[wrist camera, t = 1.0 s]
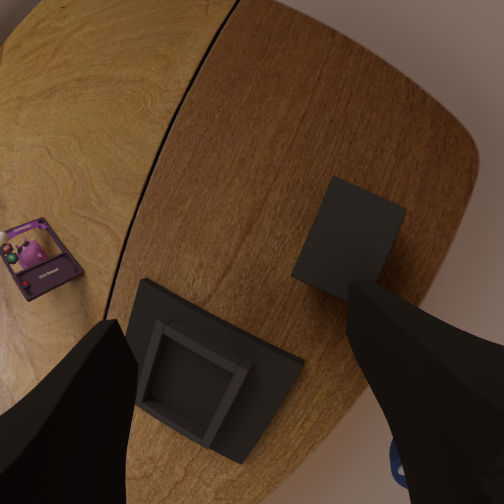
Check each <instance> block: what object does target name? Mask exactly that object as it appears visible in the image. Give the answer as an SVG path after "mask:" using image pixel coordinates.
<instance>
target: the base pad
mask: <svg viewBox="0 0 504 504" xmlns="http://www.w3.org/2000/svg"><path fill="white" fill-rule="evenodd" d="M125 338H126V340H127V342H128V344H129V346H130V348H131V350H132V352H133V354H134V356H135V358H136V360H137V362H138V364H139V368H138V386H137V395H136V400H135V405H137V406H138V407H140V408H141V409H143V410H144V411H145V412H147V413H148V414H150V415H151V416H153V417H155V418H156V419H158V420H159V421H161V422H162V423H164V424H165V425H167V426H169V427H170V428H172V429H174V430H175V431H177V432H178V433H180V434H182V435H184V436H185V437H187V438H189V439H190V440H192V441H194V442H196V443H198V444H200V445H201V446H203V447H205V448H206V449H211V450H213V451H215V452H217V453H219V454H221V455H223V456H225V457H227V458H229V459H231V460H233V461H235V462H237V463H239V464H242V463H243V462H244V460H245V459H246V458H247V456H248V455H249V453H250V452H251V450H252V449H253V447H254V446H255V444H256V443H257V441H258V440H259V438H260V437H261V435H262V433H263V432H264V430H265V429H266V427H267V426H268V424H269V423H270V421H271V419H272V418H273V416H274V415H275V413H276V411H277V410H278V408H279V406H280V405H281V403H282V401H283V400H284V398H285V396H286V395H287V393H288V391H289V390H290V388H291V386H292V385H293V383H294V381H295V379H296V378H297V376H298V374H299V372H300V371H301V369H302V367H303V365H304V361H305V360H303V359H301V358H299V357H297V356H294V355H292V354H290V353H288V352H286V351H284V350H282V349H280V348H278V347H275V346H273V345H271V344H269V343H267V342H265V341H263V340H261V339H259V338H257V337H255V336H253V335H251V334H249V333H247V332H245V331H243V330H241V329H239V328H237V327H235V326H233V325H231V324H229V323H228V322H226V321H224V320H222V319H220V318H218V317H216V316H214V315H212V314H210V313H209V312H207V311H205V310H203V309H201V308H199V307H198V306H196V305H194V304H192V303H190V302H188V301H187V300H185V299H183V298H181V297H179V296H178V295H176V294H174V293H172V292H171V291H169V290H167V289H165V288H164V287H162V286H160V285H158V284H157V283H155V282H153V281H151V280H150V279H148V278H145V279H141V280H140V283H139V287H138V290H137V294H136V297H135V301H134V305H133V308H132V312H131V316H130V320H129V324H128V328H127V332H126V336H125Z"/></svg>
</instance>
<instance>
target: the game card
mask: <svg viewBox="0 0 504 504" xmlns="http://www.w3.org/2000/svg"><path fill="white" fill-rule="evenodd" d="M40 223H42V225H40ZM36 227H39V228H40V229H41V230H43V229H46V230H47V231H48V233H49V234H50V236H51V237H52V238H53V240H54V241H55V242H56V244H57V245H58V247H59V248H60V249H61V251H62V253H60V254H58V255H55V256H53V257H51V258H49V259H48V256H47V254H46V252H45V251H44V249H43V248H42V247H41V246H40V245H39V244H38V243H37V242H36V240H35V241H34V240H33V237H32V240H31V241H29V242H28V241H27V240H26V237H24V242H25V243H24V244H23V245H22V246H21V247H19V246H18V245H16V248H17V249H18V250H17V252H18V254H16V253H11V252H12V251H13V247H12V245H11V244H5V243H7V242H8V240H10V239H11V238H13V237H15V236H17V235H18V234H21V233H23V232H25V231H28V230H30V229H33V228H36ZM0 244H3V245H2V246H1V248H0V255H1V257H2V259H3V261H4V263H5V265H6V266H7V268H8V270H9V272H10V274H11V275H12V277H13V279H14V281H15V282H16V284H17V286H18V287H19V289H20V291H21V292H22V294H23V296H24V297H25V299H26V300H27V301H28V302H30V301H32V300H34V299H36V298H38V297H39V296H41V295H43V294H45V293H47V292H49V291H51V290H53V289H55V288H57V287H59V286H61V285H63V284H65V283H67V282H69V281H71V280H73V279H75V278H77V277H79V276H81V275H83V269H82V268H81V267H80V265H79V264H78V263H77V262H76V260H75V259H74V258H73V257H72V255H71V254H70V253H69V252H68V250H67V249H66V248H65V246H64V245H63V244H62V242H61V241H60V240H59V238H58V237H57V236H56V234H55V233H54V232H53V230H52V229H51V228H50V226H49V225H48V223H47V222H46V221H45V219H44V218H39V219H36V220H33V221H30V222H27V223H25V224H22V225H19V226H17V227H14V228H11V229H9V230H6V231H4V232H0ZM4 254H8V255H7V256H6V257H5V255H4ZM17 261H18V262H19V264H20V265H21V267H22V268H23V269H24V270H22V271H20V272H18V273H14V271H13V270H12V268H11V266H10V264H15V263H16V262H17Z"/></svg>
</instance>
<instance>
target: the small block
mask: <svg viewBox="0 0 504 504" xmlns="http://www.w3.org/2000/svg"><path fill="white" fill-rule="evenodd" d="M406 211H407V210H406V209H405V208H403V207H401V206H399V205H397V204H395V203H393V202H391V201H389V200H387V199H385V198H382V197H380V196H378V195H376V194H374V193H371V192H369V191H367V190H365V189H363V188H360V187H358V186H356V185H354V184H351V183H349V182H347V181H344V180H342V179H340V178H337V177H335V176H333V177H332V179H331V181H330V184H329V186H328V189H327V191H326V194H325V196H324V198H323V201H322V203H321V206H320V208H319V211H318V213H317V215H316V218H315V220H314V223H313V225H312V227H311V230H310V232H309V234H308V237H307V239H306V241H305V244H304V246H303V248H302V251H301V253H300V255H299V257H298V260H297V262H296V264H295V267H294V269H293V271H292V273H291V276H292V277H294V278H296V279H298V280H300V281H302V282H305V283H307V284H309V285H311V286H313V287H315V288H318V289H320V290H322V291H324V292H326V293H328V294H331V295H333V296H335V297H337V298H339V299H342V300H344V301H346V302H348V285H349V282H350V281H355V280H360V279H365V278H367V279H369V280H371V281H373V282H375V283H376V281H377V279H378V277H379V275H380V273H381V270H382V268H383V266H384V264H385V262H386V259H387V257H388V255H389V253H390V250H391V248H392V246H393V243H394V241H395V238H396V236H397V234H398V231H399V229H400V226H401V224H402V221H403V219H404V216H405V214H406Z"/></svg>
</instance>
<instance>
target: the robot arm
mask: <svg viewBox="0 0 504 504" xmlns="http://www.w3.org/2000/svg"><path fill="white" fill-rule="evenodd" d="M346 334H347V337H348V340H349V343H350V345H351V348H352V351H353V353H354V356H355V358H356V360H357V362H358V364H359V366H360V368H361V370H362V372H363V374H364V376H365V378H366V380H367V382H368V383H369V385H370V387H371V389H372V391H373V393H374V395H375V397H376V399H377V401H378V403H379V405H380V407H381V408H382V410H383V413H384V415H385V417H386V419H387V421H388V424H389V427H390V430H391V433H392V435H393V438H394V441H395V444H396V447H397V450H398V454H399V457H400V460H401V464H402V465H401V466H400V467H399V468H398V473H399V474H401V475H405V479H406V483H407V487H408V491H409V495H410V501H411V504H504V346H503V345H500V344H497V343H494V342H490V341H488V340H485V339H482V338H480V337H477V336H475V335H472V334H470V333H468V332H465V331H462V330H460V329H458V328H456V327H454V326H452V325H450V324H448V323H445V322H444V321H442V320H440V319H438V318H436V317H434V316H432V315H430V314H428V313H426V312H425V311H423V310H421V309H419V308H418V307H416V306H414V305H412V304H411V303H409V302H407V301H406V300H404V299H402V298H400V297H399V296H397V295H395V294H394V293H392V292H390V291H389V290H387V289H385V288H384V287H382V286H380V285H379V284H377V283H375V282H373V281H371V280H369V279H367V278H365V279H360V280H355V281H350V282H349V285H348V305H347V322H346ZM138 368H139V364H138V362H137V360H136V358H135V356H134V354H133V352H132V350H131V348H130V346H129V344H128V342H127V340H126V338H125V336H124V334H123V332H122V329H121V327H120V325H119V323H118V321H117V319H112V320H103V321H100V322H98V323H97V324H96V325H95V326H94V327H93V328H92V329H91V330H90V331H89V332H88V333H87V334H86V335H85V336H84V337H83V338H82V339H81V340H80V341H79V342H78V343H77V344H76V345H75V346H74V347H73V349H72V350H71V351H70V352H69V353H68V354H67V355H66V356H65V357H64V358H63V359H62V360H61V361H60V362H59V363H58V364H57V365H56V367H55V368H54V369H53V370H52V371H51V372H50V373H49V374H48V375H47V376H46V377H45V378H44V379H43V380H42V381H41V382H40V383H39V384H38V385H37V386H36V387H35V388H34V389H32V390H31V391H30V392H29V393H28V394H27V395H26V396H25V397H23V398H22V399H21V400H20V401H19V402H18V403H17V404H15V405H14V406H13V407H12V408H10V409H9V410H8V411H6V412H5V413H3V414H2V415H1V416H0V504H126V486H125V474H126V453H127V445H128V439H129V433H130V428H131V422H132V417H133V411H134V406H135V400H136V395H137V386H138Z"/></svg>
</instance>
